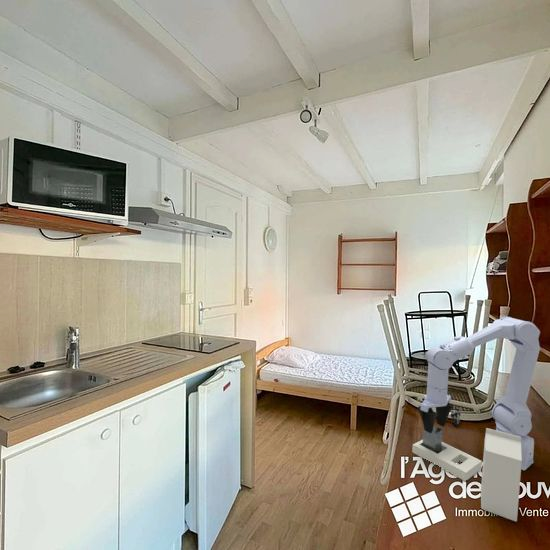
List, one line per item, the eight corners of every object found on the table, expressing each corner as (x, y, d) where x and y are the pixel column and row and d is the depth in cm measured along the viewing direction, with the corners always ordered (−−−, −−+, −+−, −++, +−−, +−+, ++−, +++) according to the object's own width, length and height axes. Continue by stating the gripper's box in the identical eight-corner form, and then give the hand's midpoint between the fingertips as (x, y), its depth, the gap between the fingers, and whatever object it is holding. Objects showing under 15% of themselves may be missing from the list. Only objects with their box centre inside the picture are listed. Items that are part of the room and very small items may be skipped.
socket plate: (481, 469, 96) (481, 460, 96) (465, 481, 90) (465, 472, 90) (429, 443, 109) (429, 435, 109) (412, 452, 103) (412, 444, 103)
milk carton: (516, 522, 76) (523, 444, 75) (481, 509, 80) (486, 434, 79) (513, 504, 82) (519, 430, 81) (480, 492, 86) (485, 422, 85)
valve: (422, 417, 127) (456, 428, 119) (423, 400, 127) (457, 411, 119) (427, 411, 132) (460, 422, 124) (428, 395, 132) (461, 405, 124)
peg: (441, 454, 102) (442, 429, 102) (434, 458, 100) (435, 433, 100) (428, 448, 106) (430, 424, 105) (422, 451, 103) (423, 427, 103)
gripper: (436, 377, 109) (434, 417, 110) (412, 386, 101) (409, 428, 101) (458, 384, 103) (455, 426, 104) (434, 394, 95) (431, 439, 95)
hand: (434, 428), depth 102 cm, fingers open, 7 cm apart
